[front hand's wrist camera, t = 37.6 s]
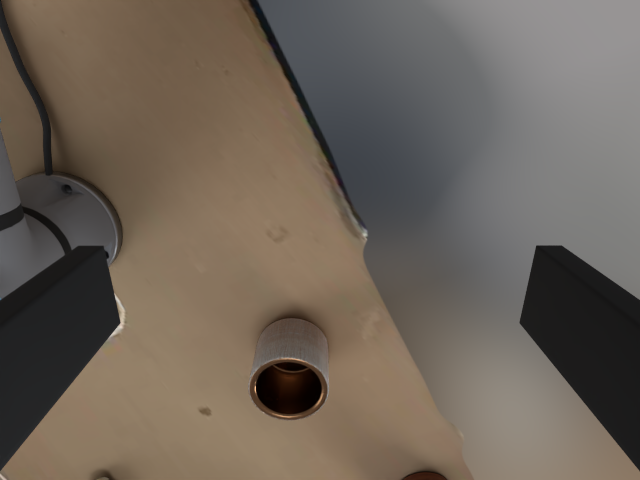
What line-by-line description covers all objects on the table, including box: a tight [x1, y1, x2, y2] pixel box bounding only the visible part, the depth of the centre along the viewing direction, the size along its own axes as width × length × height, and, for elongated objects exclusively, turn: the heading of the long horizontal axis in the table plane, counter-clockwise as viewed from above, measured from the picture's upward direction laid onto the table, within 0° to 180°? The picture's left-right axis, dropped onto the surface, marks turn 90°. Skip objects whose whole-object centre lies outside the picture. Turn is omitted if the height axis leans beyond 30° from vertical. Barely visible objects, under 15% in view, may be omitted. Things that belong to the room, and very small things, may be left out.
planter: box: [248, 318, 329, 420], centre depth 58 cm, size 11×11×10 cm
